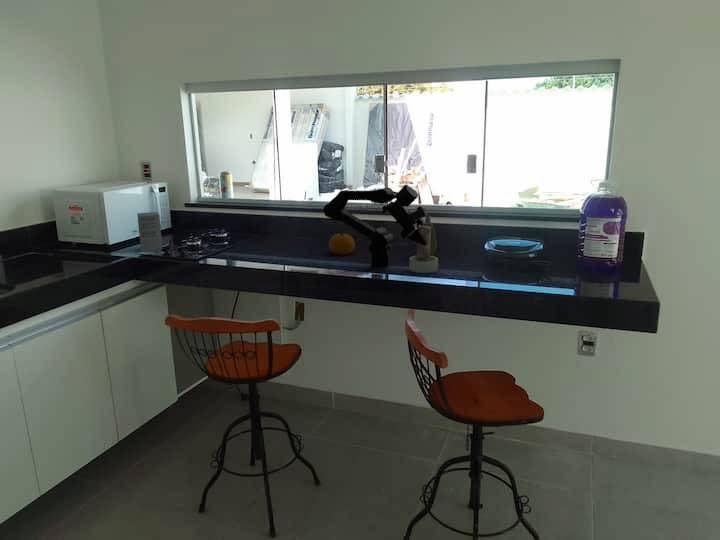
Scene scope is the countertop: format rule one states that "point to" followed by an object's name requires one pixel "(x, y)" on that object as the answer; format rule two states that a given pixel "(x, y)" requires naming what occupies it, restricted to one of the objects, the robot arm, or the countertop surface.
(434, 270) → the celadon cup
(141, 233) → the supplement box
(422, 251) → the birch post
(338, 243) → the fruit
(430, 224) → the squeeze bottle
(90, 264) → the countertop surface
